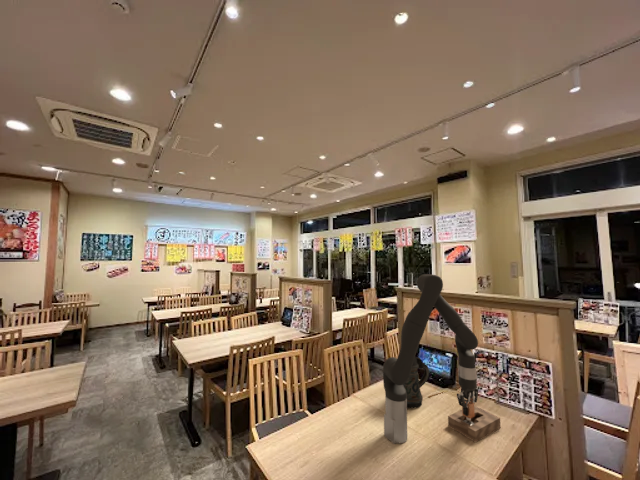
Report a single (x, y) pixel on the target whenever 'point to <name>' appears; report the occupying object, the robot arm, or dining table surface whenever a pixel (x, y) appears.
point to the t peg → (469, 413)
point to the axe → (434, 394)
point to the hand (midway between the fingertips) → (468, 413)
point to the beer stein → (416, 384)
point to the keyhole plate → (475, 424)
